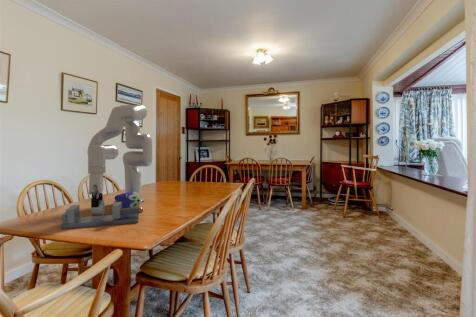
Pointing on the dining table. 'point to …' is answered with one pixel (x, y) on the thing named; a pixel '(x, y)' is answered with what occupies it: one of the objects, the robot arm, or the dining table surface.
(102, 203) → the steel block
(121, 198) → the toy
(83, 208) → the dining table surface
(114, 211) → the sliding jaw
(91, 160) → the robot arm
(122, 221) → the vise
